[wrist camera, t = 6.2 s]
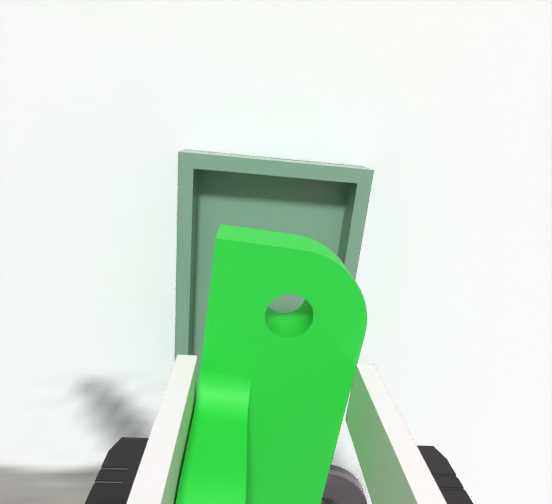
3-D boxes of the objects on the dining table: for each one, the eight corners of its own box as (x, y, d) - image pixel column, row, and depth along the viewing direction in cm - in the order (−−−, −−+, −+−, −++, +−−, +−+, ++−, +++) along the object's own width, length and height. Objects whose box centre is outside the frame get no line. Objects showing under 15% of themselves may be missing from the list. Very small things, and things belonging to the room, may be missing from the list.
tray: (180, 387, 27) (173, 411, 25) (186, 149, 22) (178, 151, 20) (325, 393, 28) (331, 416, 26) (361, 166, 23) (374, 169, 21)
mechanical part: (312, 470, 19) (352, 701, 11) (192, 462, 18) (148, 699, 11) (367, 244, 15) (481, 358, 8) (220, 224, 15) (185, 325, 7)
